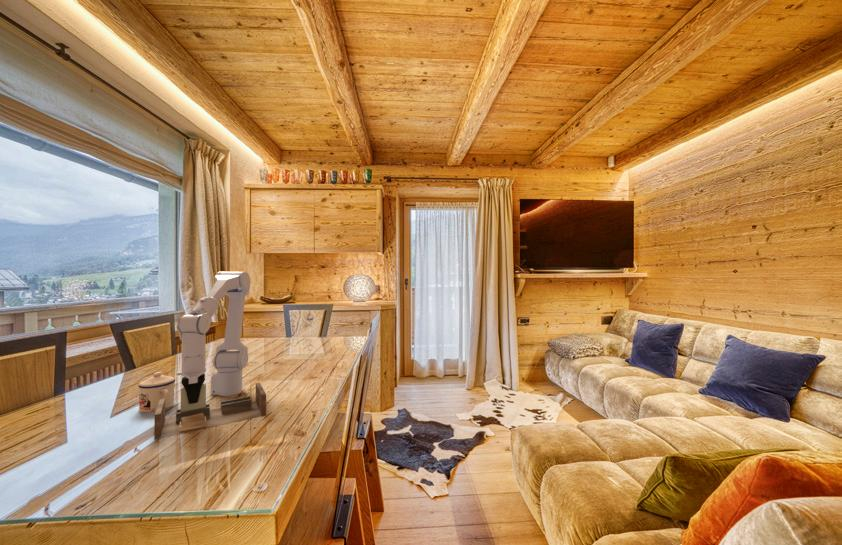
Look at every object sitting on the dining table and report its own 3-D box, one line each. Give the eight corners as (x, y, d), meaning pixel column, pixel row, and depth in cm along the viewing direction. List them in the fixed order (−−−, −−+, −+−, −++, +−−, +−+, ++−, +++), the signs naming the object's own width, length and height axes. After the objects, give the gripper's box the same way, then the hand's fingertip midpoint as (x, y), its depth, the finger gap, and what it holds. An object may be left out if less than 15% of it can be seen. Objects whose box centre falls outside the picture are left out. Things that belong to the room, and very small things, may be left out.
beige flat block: (180, 414, 95) (181, 387, 95) (205, 410, 99) (205, 383, 99) (180, 416, 94) (180, 388, 94) (205, 411, 97) (205, 384, 97)
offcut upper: (181, 422, 90) (181, 417, 90) (202, 417, 93) (202, 412, 93) (182, 426, 88) (182, 422, 88) (204, 421, 91) (204, 416, 91)
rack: (159, 422, 95) (160, 398, 95) (259, 403, 109) (259, 382, 109) (154, 443, 83) (154, 415, 83) (266, 418, 98) (266, 394, 98)
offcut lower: (179, 426, 90) (179, 421, 90) (205, 420, 94) (205, 416, 94) (179, 431, 87) (179, 427, 87) (206, 426, 90) (206, 421, 90)
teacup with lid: (133, 411, 103) (133, 374, 103) (167, 402, 111) (167, 367, 111) (149, 420, 96) (149, 380, 97) (184, 409, 104) (184, 372, 104)
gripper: (178, 352, 100) (177, 396, 100) (175, 362, 88) (174, 413, 88) (205, 349, 104) (205, 392, 104) (206, 358, 92) (206, 407, 92)
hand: (193, 401), depth 96 cm, fingers closed on beige flat block, 1 cm apart
